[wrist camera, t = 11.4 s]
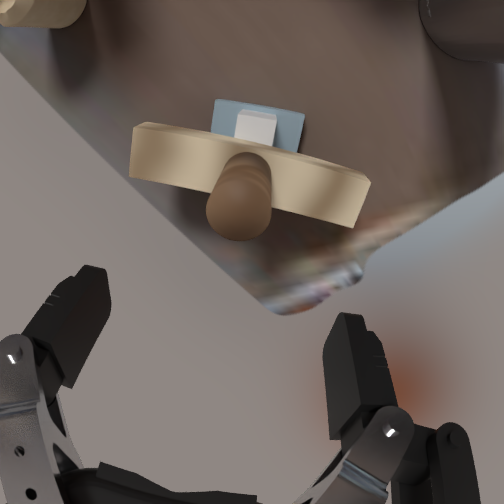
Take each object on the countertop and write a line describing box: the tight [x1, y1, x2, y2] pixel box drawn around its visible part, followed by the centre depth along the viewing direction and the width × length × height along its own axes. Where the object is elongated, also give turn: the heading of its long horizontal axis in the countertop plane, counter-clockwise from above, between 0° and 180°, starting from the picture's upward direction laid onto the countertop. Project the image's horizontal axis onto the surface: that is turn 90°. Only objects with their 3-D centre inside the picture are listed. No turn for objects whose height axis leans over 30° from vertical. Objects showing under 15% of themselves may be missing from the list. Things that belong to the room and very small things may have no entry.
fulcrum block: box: [211, 99, 305, 153], centre depth 27 cm, size 8×9×6 cm
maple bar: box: [129, 122, 371, 241], centre depth 20 cm, size 18×4×9 cm, turn 77°
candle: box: [0, 0, 87, 28], centre depth 16 cm, size 6×6×10 cm
